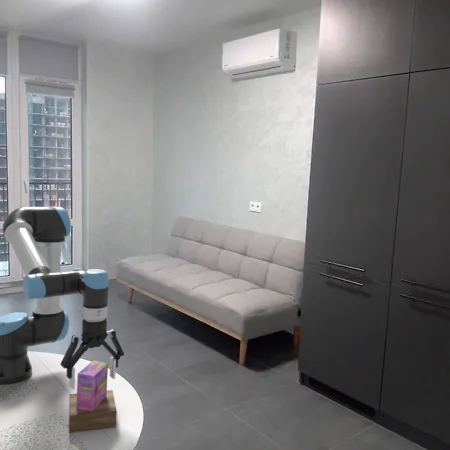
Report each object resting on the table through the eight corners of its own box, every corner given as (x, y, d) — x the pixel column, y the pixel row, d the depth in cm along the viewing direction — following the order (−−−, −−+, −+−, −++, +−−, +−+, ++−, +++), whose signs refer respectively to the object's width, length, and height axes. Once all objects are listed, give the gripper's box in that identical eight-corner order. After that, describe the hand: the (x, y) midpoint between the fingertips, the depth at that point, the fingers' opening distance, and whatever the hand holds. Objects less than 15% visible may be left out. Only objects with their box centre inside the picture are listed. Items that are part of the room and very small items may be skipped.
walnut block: (69, 411, 153) (69, 394, 152) (111, 406, 157) (112, 390, 156) (69, 434, 139) (69, 415, 139) (115, 428, 144) (116, 410, 143)
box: (92, 412, 142) (93, 375, 140) (75, 409, 143) (76, 373, 141) (107, 396, 152) (108, 362, 151) (91, 394, 153) (92, 360, 152)
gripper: (59, 328, 134) (57, 396, 136) (135, 316, 149) (133, 377, 152) (50, 320, 140) (49, 386, 142) (125, 309, 155) (123, 369, 158)
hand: (92, 382), depth 147 cm, fingers open, 13 cm apart
